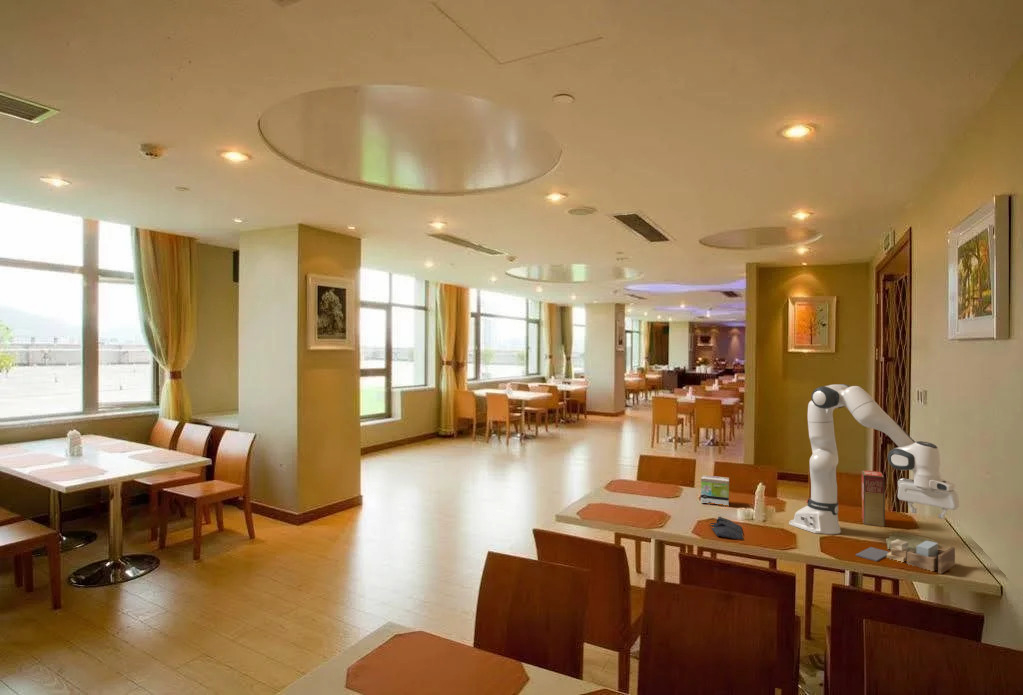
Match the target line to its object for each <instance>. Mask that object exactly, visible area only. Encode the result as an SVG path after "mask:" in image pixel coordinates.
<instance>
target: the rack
mask: <svg viewBox="0 0 1023 695" xmlns="http://www.w3.org/2000/svg"><path fill="white" fill-rule="evenodd" d="M907 564H908V566H910V565H912V566H911V567H914V566H917V567H919V568H918V569H921V568H923V569H922V570H925V569H927V570H926V571H928V570H930V571H929V572H932V571H934V572H935V570H936V569H937V570H936V571H937V574H940V575H942V574H944V573H945V572H947V571H948V570H950V569H951V568H952V567H954V566H955V565H956V548H955V547H953V546H951V547H949V548H948V549H942V548H938V557H936V556H932V557H927V556H923V555H920V554H916V553H915V551H913V550H910V551H908V552H907V561H906V565H907ZM917 567H916V568H917Z"/></svg>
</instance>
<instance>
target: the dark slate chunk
mask: <svg viewBox="0 0 1023 695" xmlns="http://www.w3.org/2000/svg"><path fill="white" fill-rule="evenodd" d="M710 523H711V524H714V525H711V526H712V527H714V528H712V529H711V530H712V531H713V533H714V532H715V533H714V534H715V535H716V536H717V537H719V536H721V537H720V538H726V537H728V538H727V539H731V538H732V539H731V540H736V539H739V540H738V541H741V540H740V539H744V538H745V537H744V538H743V535H742V534H744V531H743V528H742V526H741V525H739V524H737V523H736V522H733V521H732V520H730V519H727V518H724V517H722V516H718V517H717V519H716V521H715V522H710Z"/></svg>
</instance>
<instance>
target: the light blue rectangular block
mask: <svg viewBox="0 0 1023 695" xmlns="http://www.w3.org/2000/svg"><path fill="white" fill-rule="evenodd" d="M938 549H939V543H938V542H936V543H935V542H931V541H924V542H923V543H921V544H919V545H917V546H916V554H920V555H923V556H927V557H932V556H936V557H938Z"/></svg>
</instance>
